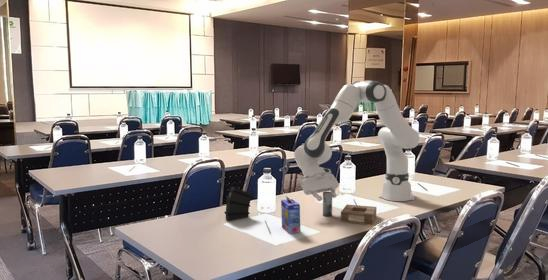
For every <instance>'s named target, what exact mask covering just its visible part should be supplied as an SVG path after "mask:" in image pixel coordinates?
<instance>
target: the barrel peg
mask: <svg viewBox="0 0 548 280" xmlns="http://www.w3.org/2000/svg"><path fill="white" fill-rule="evenodd" d="M322 216H323V217H326V218H329V217H333V197H332V192H331V191H326V192H322Z"/></svg>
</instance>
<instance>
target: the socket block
mask: <svg viewBox="0 0 548 280" xmlns="http://www.w3.org/2000/svg"><path fill="white" fill-rule="evenodd" d="M376 218H377V206H368V205H356V204H346V205H345V206H344V207H343V208H342V210H341V211H340V222H341V223H350V224H351V223H352V224H363V225H369V226H370V225H373V224H374V222H375V220H376Z"/></svg>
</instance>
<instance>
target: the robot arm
mask: <svg viewBox="0 0 548 280" xmlns="http://www.w3.org/2000/svg"><path fill="white" fill-rule="evenodd" d="M359 103H367V104H368V103H373V104H374V107H375V110H376V113H377V115H378V118H379V120H380V123H382V124H383V125H384V126H383V127H381V128H380V129H379V131H378V133H377V139H378V142H379V143H381V146H382V148H383V150H384V152H385V156H386V172H385V180H384V181H383V182H382V189H381V190H382V191H381V193H380V194H379V195H378V198H381V199H384V200H387V201H392V202H407V201H414V200H415V199H416V198H415V196H414V195H413V193H412V184H411V183H410V181H409V177H410V176H409V175H410V174H409V159H408V157H407V155H406V154H405V153H404V150H403V149H405V150H408V149H414V148H416V147H417V146H418V145H419V143H420V134H419V132H418V131H417V130H416V129H414V128H413V127H412V126H411V125H410V124H409V122H408V121H407V120H406V119H405V118H404V116H403V115H402V112H401V110H400V107H399V105H398V102H397V99H396V96H395V95H394V93H393V91H392V89H391V88H390V86H388V85H387V84H383V83H382V82H380V81H377V80H362V81H361V80H359V81H358V80H357V81H355V82H353V83H349V84H348V83H347V84H345V85H343V86H342V88H341V89H340V90H339V92H338V93H337V95H336V96H335V98H334V100H333V102H332V104H331V106H330V108H329V109H328V110H327V111H326V112H325V114H324V115H323V117H322V119H321V120H320V122H319V124H318V125H317V127H316V128H315V130H314V131H313V133H312V134H311V135H309V137H308V138H307V139H306V140H305V142H304V143H303V144H302V145H300V146H298V147H297V148H296V149H295V150H294V153H293V156H294V160H295V162H296V164H297V166H298V167H299V169H300V170H301V171H302V174H303V176H300V177H299V179H298V182H299V183H300V185H301V186H300V187H301V189H302V191H303V193H304V195H306V196H308V195H309V196H310V195H311V196H313V197H314V198H315V199H316V200H317V201H318V202H320V201H323V196H322V195H319V193H323V192H332V199H335V198H337V196H338V195H337V193H336V190H337V189H338V187H339V185H340V184H339V182H338V180H337V178H336V177H335V176H334V174H333V173H332V170H331V169H330V168H325V167H322V166H320V165H323V164H325V163H326V162H328V161H330V160H331V158H332V155H333V151H332V148H331V146H329V144H327V143H326V140H327V137H328V135H329V134H330V132H331V130H332V129H333V127H334V126H335V125H336V124H339V123H345V122H346V123H347V122H348V121H349V120H350V118H351V117H352V115H353V114H354V111H355V110H356V108H357V105H358V104H359Z"/></svg>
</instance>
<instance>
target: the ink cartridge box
mask: <svg viewBox="0 0 548 280" xmlns="http://www.w3.org/2000/svg"><path fill="white" fill-rule="evenodd" d="M280 203H281V204H280V205H281V212H280V213H281V228H283V230H285V231H286V232H287V233H288V234H297V233H301V206H300V203H298V202H297V201H295V200H294V199H292V198H289V197H288V196H285V199H281V200H280Z"/></svg>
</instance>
